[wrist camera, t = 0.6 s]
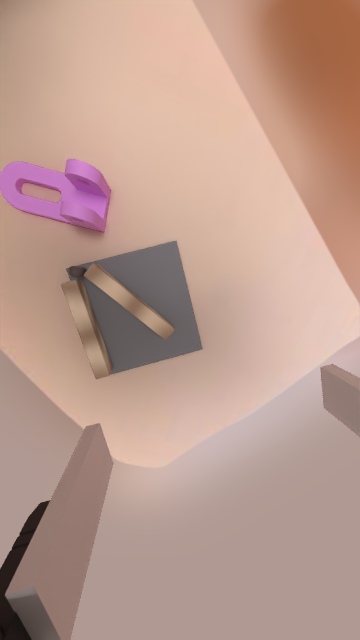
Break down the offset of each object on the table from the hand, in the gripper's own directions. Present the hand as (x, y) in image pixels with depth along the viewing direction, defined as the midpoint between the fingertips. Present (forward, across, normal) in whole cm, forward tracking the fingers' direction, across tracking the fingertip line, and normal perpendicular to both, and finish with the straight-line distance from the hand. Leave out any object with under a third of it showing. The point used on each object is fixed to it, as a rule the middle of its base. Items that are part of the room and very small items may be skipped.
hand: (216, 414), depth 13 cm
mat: (+22, -6, +4) cm, 23 cm away
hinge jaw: (+22, -6, +5) cm, 23 cm away
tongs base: (+22, -12, +4) cm, 26 cm away
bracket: (+23, -12, +21) cm, 33 cm away
